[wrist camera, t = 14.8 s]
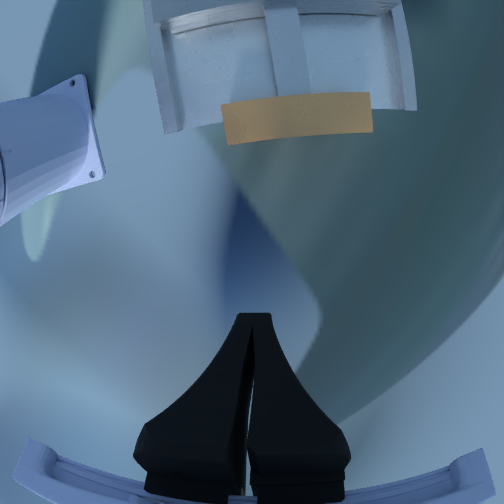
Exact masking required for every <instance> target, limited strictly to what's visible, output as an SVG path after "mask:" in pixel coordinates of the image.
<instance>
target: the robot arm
mask: <svg viewBox="0 0 504 504" xmlns="http://www.w3.org/2000/svg"><path fill="white" fill-rule="evenodd" d="M74 80H75V85H74V86H73V81H74ZM92 171H93V172H94V173H95V177H94V176H93V175H92ZM105 174H106V171H105V167H104V164H103V159H102V155H101V151H100V147H99V143H98V139H97V134H96V129H95V125H94V120H93V115H92V110H91V105H90V99H89V94H88V88H87V82H86V77H85V75H83V74H77V75H75V76H73V77H71V78H69V79H67V80H65V81H63V82H61V83H59V84H57V85H55V86H53V87H52V88H50V89H48V90H46V91H44V92H43V93H41V94H39V95H37V96H35V97H29V98H23V99H17V100H12V101H7V102H2V103H0V226H1V225H3V224H4V223H6V222H7V221H8V220H10V219H11V218H13V217H14V216H16V215H17V214H19V213H20V212H22V211H23V210H25V209H26V208H28V207H29V206H31V205H32V204H34V203H35V202H37V201H39V200H40V199H42V198H43V197H45V196H47V195H50V194H53V193H56V192H59V191H62V190H65V189H69V188H72V187H75V186H78V185H82V184H85V183H89V182H93V181H96V180H100V179H102V178H103V177H104V176H105ZM253 381H254V386H253ZM252 387H253V396H252V406H251V415H250V424H249V431H248V415H249V407H250V400H251V393H252ZM247 434H248V439H247ZM247 450H248V456H249V461H250V466H251V473H250V485H251V488H252V492H253V496H245V490H246V489H245V487H246V486H245V485H246V456H247ZM133 457H134V459H135V460H136V461H137V463H138V464H139V465H140V466H141V467H142V468H143V469H144V470H146V471H147V476H146V480H145V482H141V481H136V480H132V479H129V478H125V477H121V476H117V475H114V474H110V473H107V472H104V471H101V470H98V469H95V468H92V467H89V466H86V465H83V464H80V463H77V462H75V461H72V460H70V459H67V458H65V457H62V456H60V455H58V454H57V453H56V452H55V451H54V450H53V449H51V448H50V447H48V446H47V445H45V444H43V443H40V442H38V441H36V440H34V439H32V438H28V440H27V442H26V444H25V447H24V449H23V451H22V453H21V456H20V458H19V461H18V463H17V465H16V468H15V470H14V473H13V475H12V479H13V480H15V481H16V482H18V483H20V484H21V485H23V486H24V487H26V488H28V489H29V490H31V491H33V492H34V493H36V494H37V495H39V496H41V497H43V498H44V499H46V500H48V501H50V502H52V503H54V504H161V503H162V504H481V503H483V502H485V501H487V500H489V499H490V498H492V497H494V496H495V495H496V491H495V488H494V484H493V480H492V477H491V473H490V470H489V466H488V464H487V460H486V457H485V454H484V451H483V449H482V448H480V449H478V450H476V451H473V452H471V453H468V454H466V455H463V456H461V457H459V458H457V459H456V460H454V461H453V462H452V463H451V464H450V465H449V466H447V467H444V468H441V469H438V470H435V471H432V472H429V473H425V474H422V475H419V476H415V477H411V478H408V479H404V480H400V481H396V482H392V483H387V484H383V485H378V486H373V487H367V488H362V489H356V490H349V491H344V480H345V472H344V469H345V468H346V466H347V465H348V463H349V462H350V460H351V453H350V449H349V446H348V443H347V441H346V439H345V437H344V434H343V432H342V430H341V429H340V428H339V427H338V426H337V425H335V424H334V423H333V422H332V421H331V420H330V419H329V418H328V417H327V416H326V414H325V413H324V412H323V411H322V410H321V409H320V408H319V407H318V406H317V404H316V403H315V402H314V401H313V399H312V398H311V397H310V396H309V394H308V393H307V392H306V390H305V389H304V388H303V386H302V385H301V383H300V382H299V380H298V379H297V377H296V375H295V374H294V372H293V371H292V369H291V367H290V365H289V363H288V361H287V359H286V358H285V355H284V353H283V351H282V349H281V346H280V344H279V342H278V339H277V336H276V333H275V330H274V327H273V323H272V318H271V314H270V313H239V314H238V315H237V317H236V320H235V322H234V324H233V326H232V329H231V331H230V332H229V334H228V336H227V338H226V340H225V342H224V343H223V345H222V347H221V348H220V350H219V351H218V353H217V354H216V356H215V357H214V359H213V360H212V362H211V363H210V364H209V366H208V367H207V368H206V370H205V371H204V372H203V373H202V375H201V376H200V377H199V378H198V379H197V381H195V383H194V384H193V385H192V386H191V387H190V388H189V389H188V390H187V391H186V392H185V393H184V394H183V395H182V396H181V397H180V398H178V399H177V400H176V401H175V402H174V403H173V404H171V405H170V406H169V407H168V408H167V409H165V410H164V411H163V412H161V413H160V414H159V415H157V416H156V417H154V418H153V419H151V420H150V421H149V422H147V423H145V425H144V426H143V428H142V430H141V433H140V435H139V437H138V439H137V443H136V446H135V450H134V453H133ZM157 502H158V503H157Z"/></svg>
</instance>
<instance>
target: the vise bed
mask: <svg viewBox="0 0 504 504" xmlns="http://www.w3.org/2000/svg"><path fill="white" fill-rule="evenodd" d="M400 1H401V0H400ZM143 7H144V15H145V23H146V30H147V37H148V44H149V50H150V57H151V63H152V69H153V75H154V81H155V86H156V92H157V97H158V103H159V107H160V113H161V118H162V123H163V128H164V132H165V134H169V133H173V132H178V131H180V130H183V129H188V128H193V127H198V126H203V125H208V124H213V123H219V122H223V117H222V111H221V105H222V104H228V103H234V102H240V101H247V100H254V99H262V98H270V97H278V96H277V89H276V82H275V76H274V69H273V63H272V57H271V51H270V45H269V39H268V33H267V28H266V22H265V17H255V18H248V19H241V20H235V21H229V22H223V23H218V24H213V25H208V26H203V27H199V28H194V29H190V30H186V31H182V32H178V33H175V34H171V33H169V32H167V31H166V30H164V29H162V28H161V27H159V26H157V25H155V24H154V22H153V14H152V7H151V0H143ZM299 20H300V25H301V30H302V36H303V42H304V48H305V54H306V60H307V67H308V73H309V80H310V87H311V94H315V93H336V92H370V100H371V109H400V110H411V111H417V102H416V90H415V80H414V71H413V63H412V56H411V49H410V43H409V37H408V31H407V26H406V21H405V16H404V12H403V7H402V3H401V4H399V5H398V6H396V7H394V8H393V9H391V10H389V11H388V12H386V13H384V14H383V15H381V16H379V15H367V14H350V13H303V14H299Z"/></svg>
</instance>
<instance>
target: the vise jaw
mask: <svg viewBox="0 0 504 504" xmlns="http://www.w3.org/2000/svg"><path fill="white" fill-rule="evenodd" d="M399 4H401V1H400V0H151V7H152V14H153V22H154V24H155V25H157V26H159V27H161V28H162V29H164V30H166V31H167V32H169V33H171V34H175V33H178V32H182V31H186V30H190V29H194V28H199V27H203V26H208V25H213V24H218V23H223V22H229V21H235V20H241V19H248V18H255V17H265V22H266V28H267V33H268V39H269V45H270V51H271V57H272V63H273V69H274V76H275V82H276V89H277V96H278V97H270V98H262V99H254V100H247V101H240V102H234V103H228V104H222V105H221V111H222V117H223V123H224V129H225V135H226V140H227V145H233V144H240V143H247V142H254V141H262V140H270V139H279V138H289V137H299V136H311V135H324V134H340V133H363V132H373V123H372V111H371V100H370V92H336V93H315V94H311V87H310V80H309V73H308V67H307V60H306V54H305V48H304V42H303V36H302V30H301V25H300V20H299V14H303V13H350V14H367V15H379V16H381V15H383V14H384V13H386V12H388V11H389V10H391V9H393V8H394V7H396V6H398V5H399Z"/></svg>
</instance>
